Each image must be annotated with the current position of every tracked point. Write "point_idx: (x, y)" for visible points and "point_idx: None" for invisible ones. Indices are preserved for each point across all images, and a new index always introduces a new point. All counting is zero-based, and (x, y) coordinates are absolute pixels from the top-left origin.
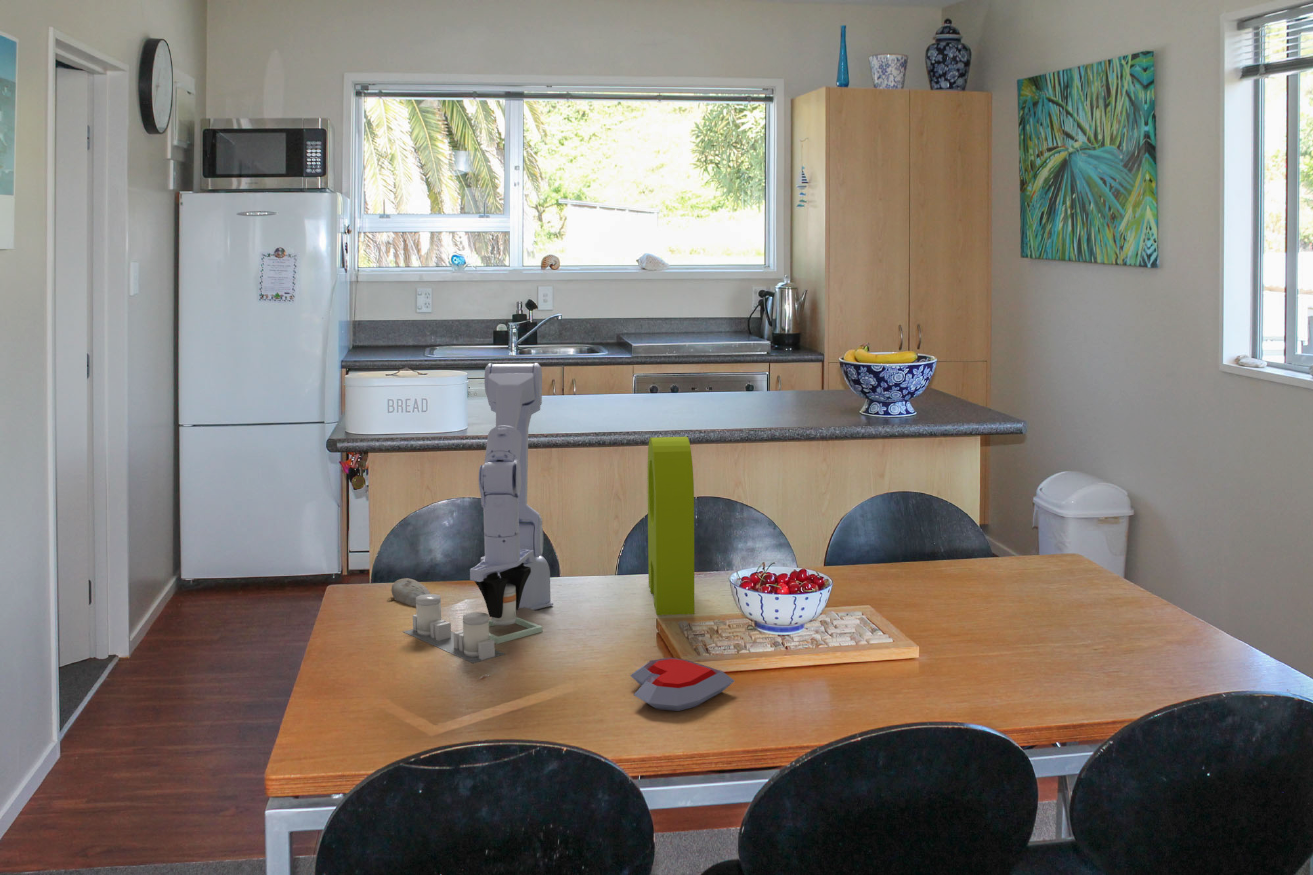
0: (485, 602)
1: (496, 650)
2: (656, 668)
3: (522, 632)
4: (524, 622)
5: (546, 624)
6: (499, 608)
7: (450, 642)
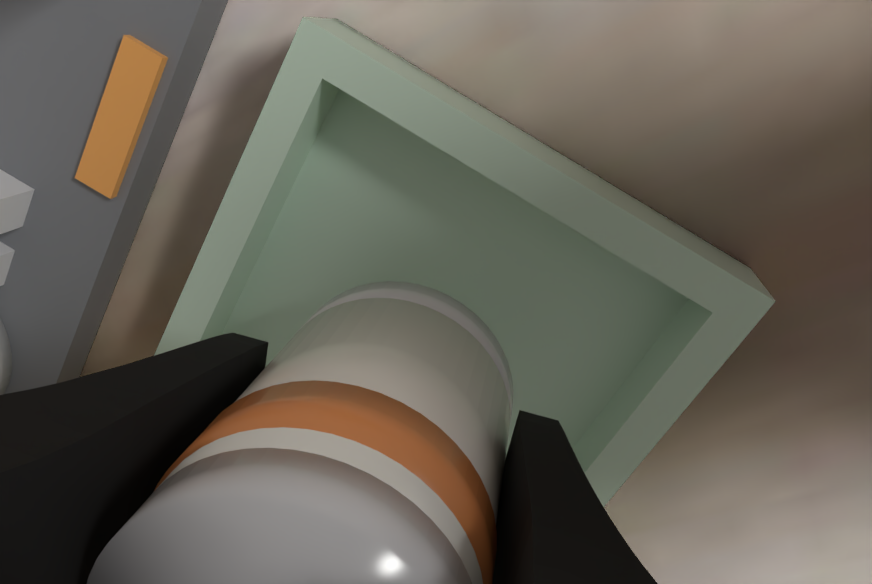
0: (115, 371)
1: None
2: None
3: None
4: None
5: (810, 531)
6: None
7: (4, 35)
